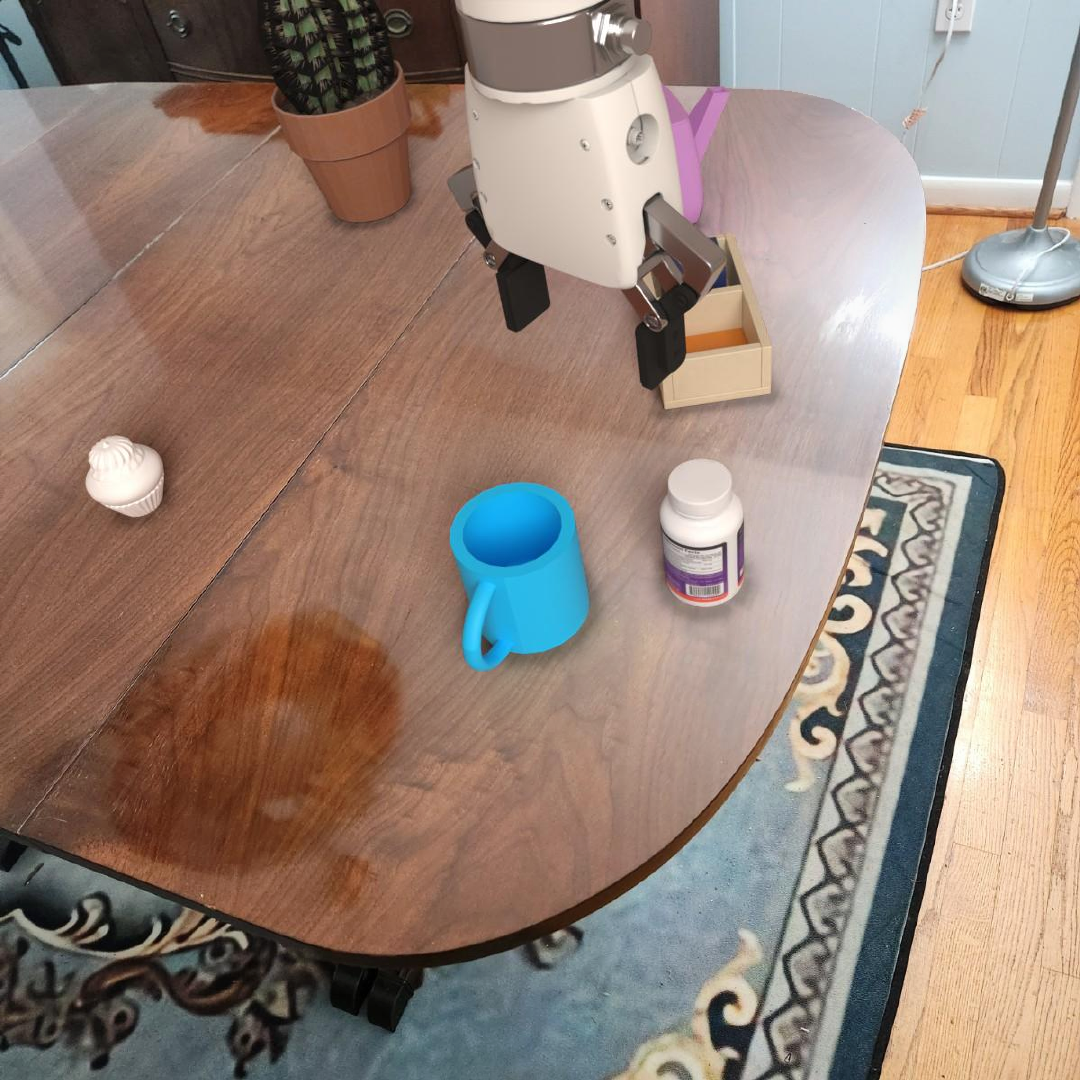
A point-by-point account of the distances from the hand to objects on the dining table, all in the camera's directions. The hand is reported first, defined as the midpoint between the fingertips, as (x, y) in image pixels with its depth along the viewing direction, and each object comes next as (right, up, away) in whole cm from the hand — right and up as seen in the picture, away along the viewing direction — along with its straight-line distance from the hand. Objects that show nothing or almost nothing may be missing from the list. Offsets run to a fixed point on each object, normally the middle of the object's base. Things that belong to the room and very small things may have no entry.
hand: (593, 345), depth 56 cm
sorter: (+11, +6, +30) cm, 33 cm away
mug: (-4, -17, +13) cm, 22 cm away
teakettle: (+7, +23, +46) cm, 52 cm away
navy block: (+11, +10, +32) cm, 35 cm away
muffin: (-36, -8, +27) cm, 46 cm away
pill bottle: (+8, -14, +13) cm, 21 cm away
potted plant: (-21, +26, +55) cm, 64 cm away
